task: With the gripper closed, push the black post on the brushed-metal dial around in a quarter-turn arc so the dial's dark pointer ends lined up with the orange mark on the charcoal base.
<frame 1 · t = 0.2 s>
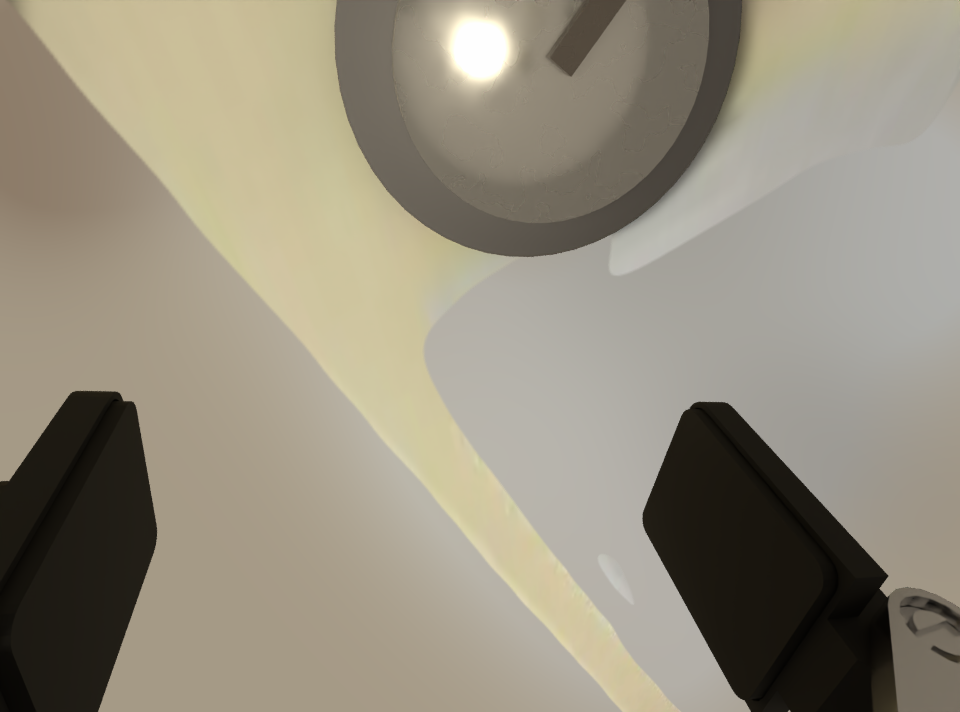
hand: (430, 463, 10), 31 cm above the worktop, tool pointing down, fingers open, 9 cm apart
dial: (566, 69, 31), point 6 cm above the worktop, hinge at 0.0°
dial base: (538, 59, 36), on the worktop
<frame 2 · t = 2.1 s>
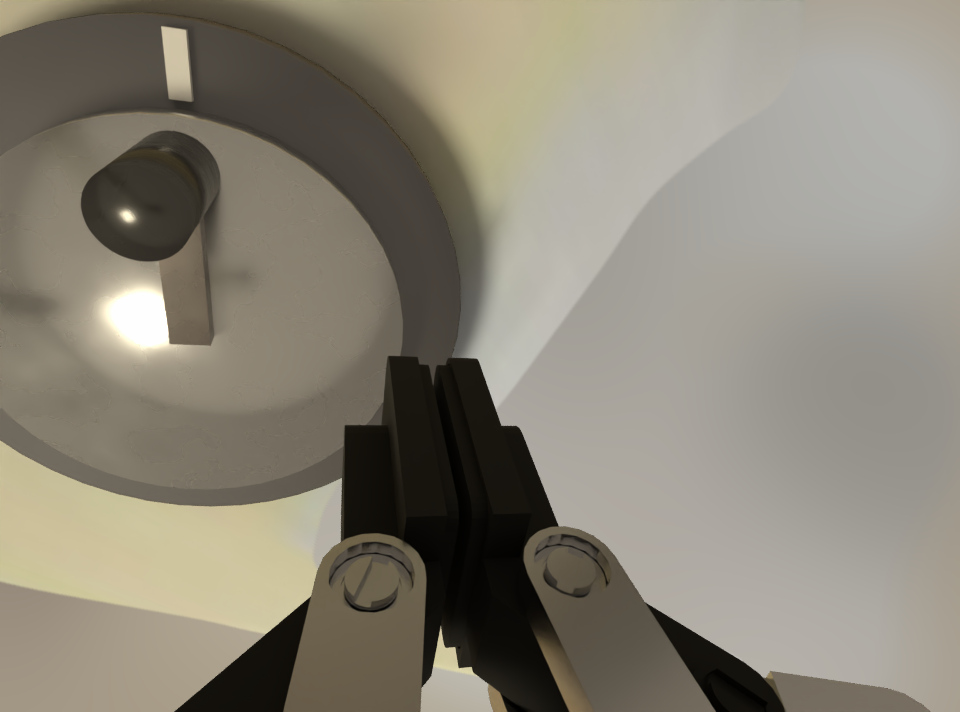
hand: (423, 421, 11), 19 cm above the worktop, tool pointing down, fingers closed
dial: (185, 356, 24), point 6 cm above the worktop, hinge at 0.0°
dial base: (211, 297, 29), on the worktop
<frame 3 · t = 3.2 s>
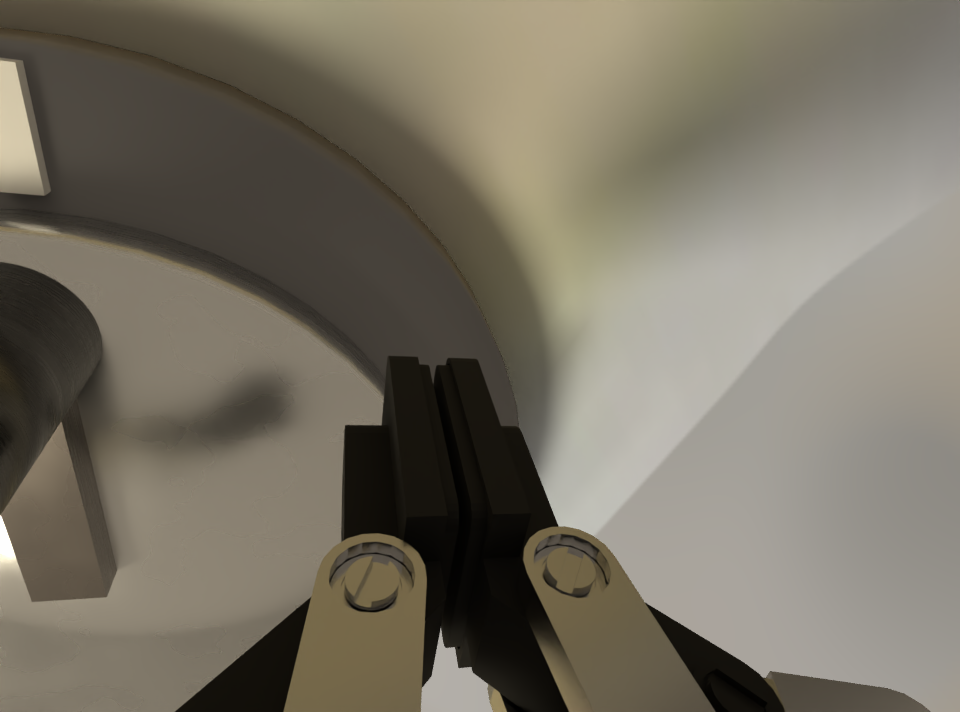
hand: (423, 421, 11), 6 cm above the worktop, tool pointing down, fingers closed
dial: (53, 635, 13), point 6 cm above the worktop, hinge at 0.0°
dial base: (127, 470, 18), on the worktop
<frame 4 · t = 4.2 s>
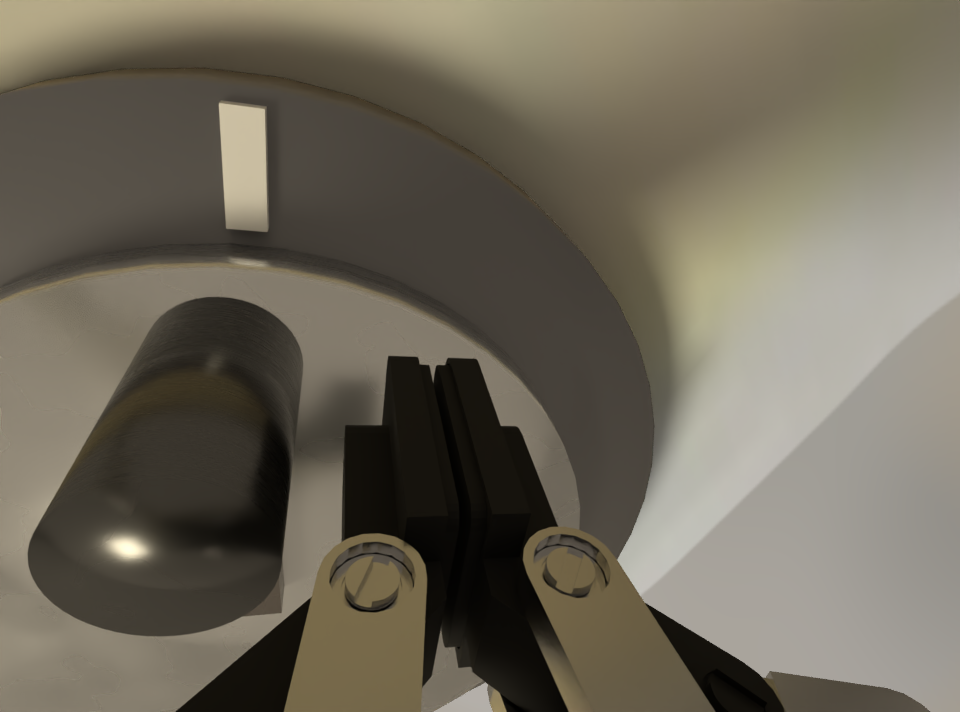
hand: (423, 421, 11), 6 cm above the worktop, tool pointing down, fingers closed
dial: (242, 651, 14), point 6 cm above the worktop, hinge at 2.3°, touching gripper
dial base: (268, 486, 19), on the worktop
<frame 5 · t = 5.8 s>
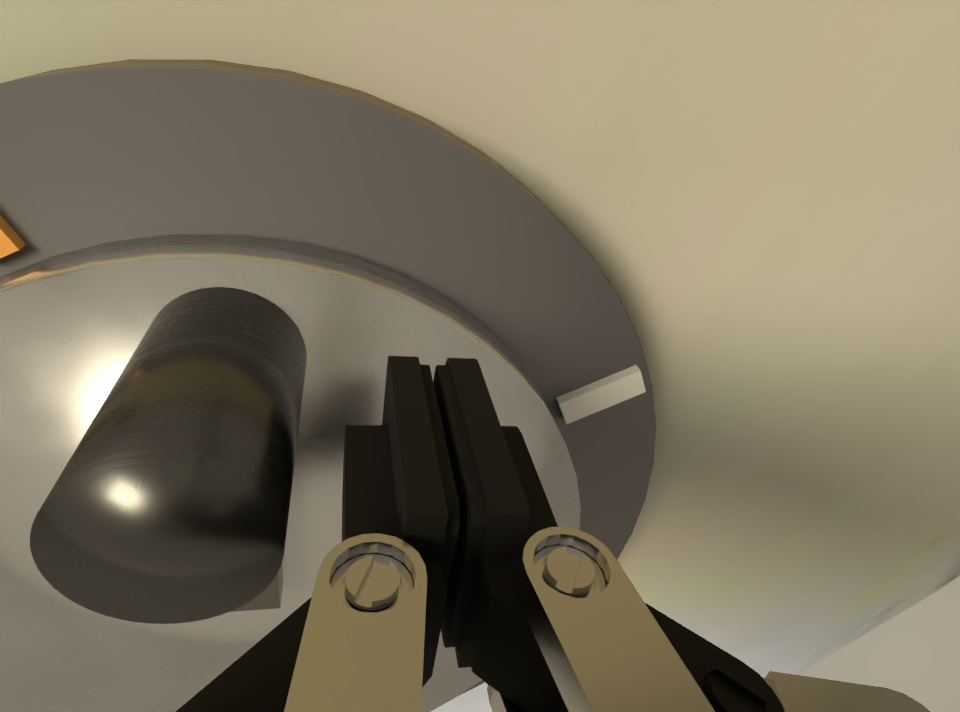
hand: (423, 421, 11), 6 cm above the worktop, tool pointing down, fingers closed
dial: (240, 645, 14), point 6 cm above the worktop, hinge at 62.2°, touching gripper
dial base: (268, 482, 19), on the worktop
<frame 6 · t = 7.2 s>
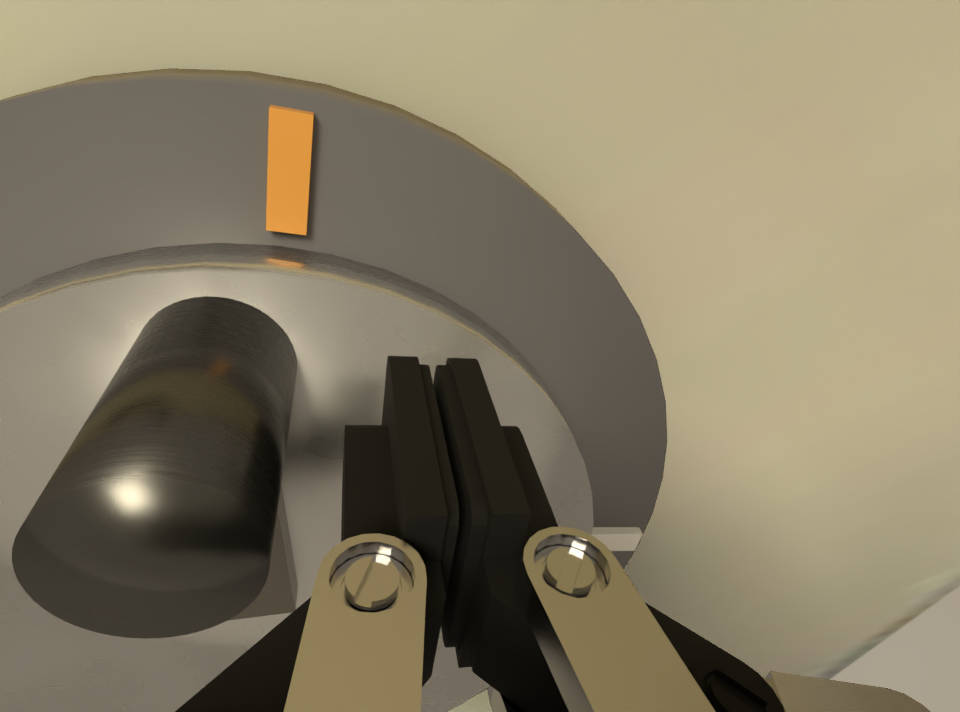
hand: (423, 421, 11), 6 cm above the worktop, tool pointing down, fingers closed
dial: (257, 651, 14), point 6 cm above the worktop, hinge at 98.7°
dial base: (280, 487, 19), on the worktop
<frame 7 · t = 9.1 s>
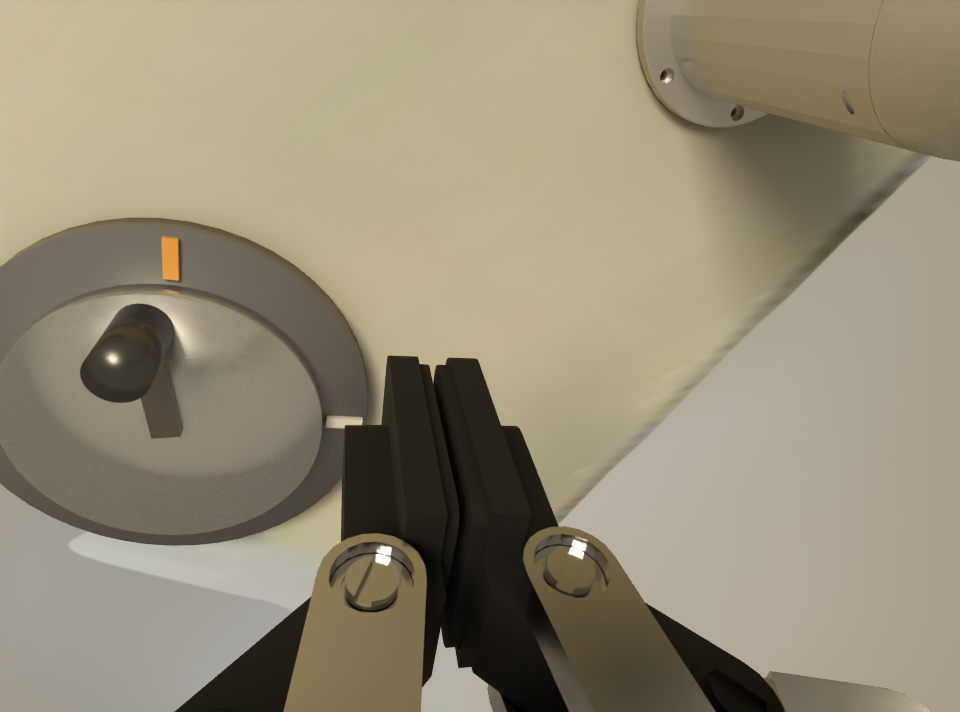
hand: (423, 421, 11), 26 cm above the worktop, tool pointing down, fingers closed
dial: (162, 447, 34), point 6 cm above the worktop, hinge at 98.7°
dial base: (182, 394, 39), on the worktop
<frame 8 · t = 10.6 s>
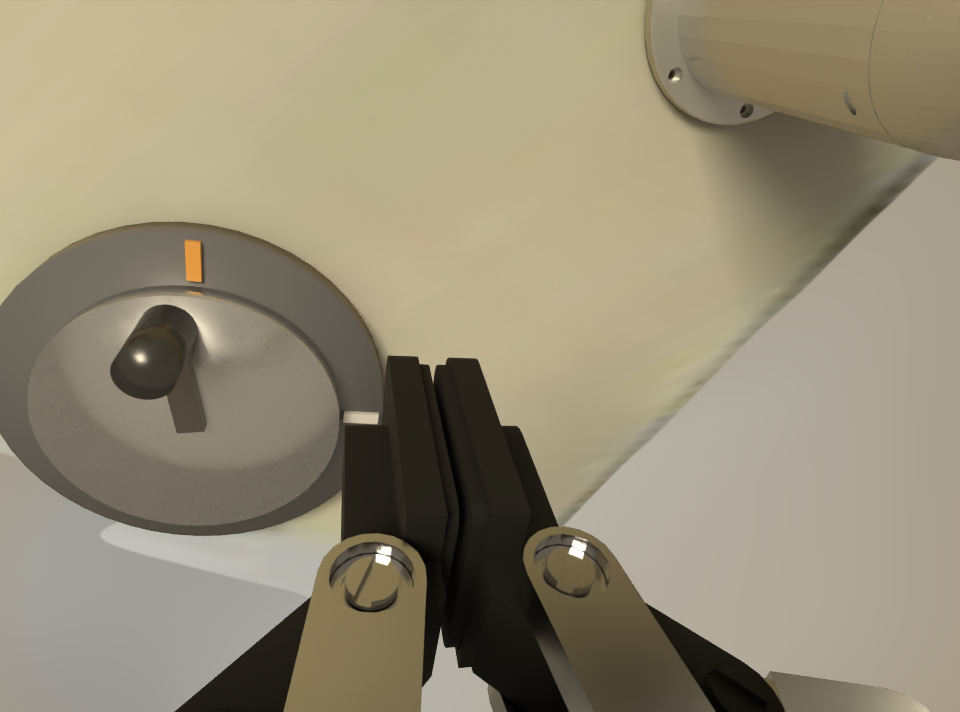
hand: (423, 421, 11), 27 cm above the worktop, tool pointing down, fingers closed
dial: (187, 442, 36), point 6 cm above the worktop, hinge at 98.7°
dial base: (205, 390, 40), on the worktop
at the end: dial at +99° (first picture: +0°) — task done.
